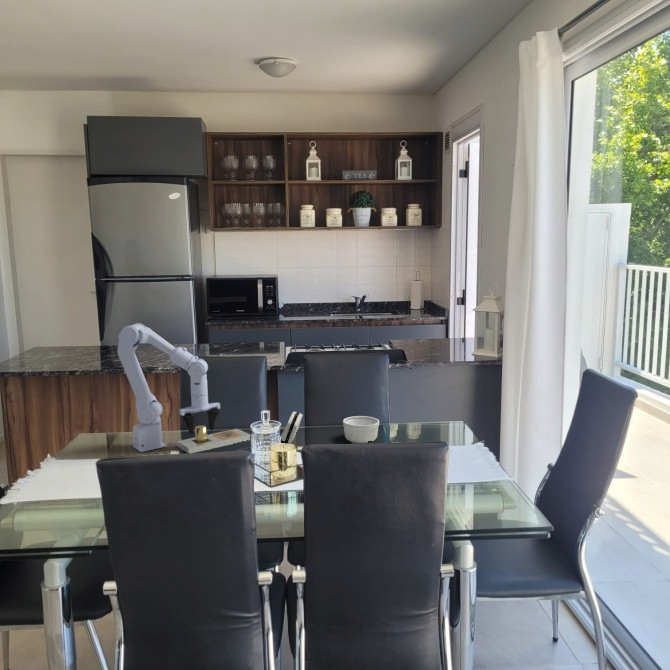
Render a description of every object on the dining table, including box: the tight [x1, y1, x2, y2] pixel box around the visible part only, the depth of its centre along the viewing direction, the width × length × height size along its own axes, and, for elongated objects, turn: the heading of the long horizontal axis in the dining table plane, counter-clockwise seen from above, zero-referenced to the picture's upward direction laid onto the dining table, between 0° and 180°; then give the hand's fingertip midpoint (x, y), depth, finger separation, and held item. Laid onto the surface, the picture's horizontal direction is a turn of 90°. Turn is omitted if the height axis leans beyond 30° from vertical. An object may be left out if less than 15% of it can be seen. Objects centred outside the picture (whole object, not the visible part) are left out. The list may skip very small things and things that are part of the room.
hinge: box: [280, 411, 304, 444], centre depth 217 cm, size 17×5×10 cm, turn 175°
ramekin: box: [342, 415, 380, 444], centre depth 213 cm, size 13×13×7 cm
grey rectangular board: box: [176, 428, 252, 454], centre depth 210 cm, size 24×10×2 cm, turn 128°
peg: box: [194, 424, 208, 444], centre depth 207 cm, size 4×4×7 cm
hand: (201, 431), depth 206 cm, fingers open, 7 cm apart
